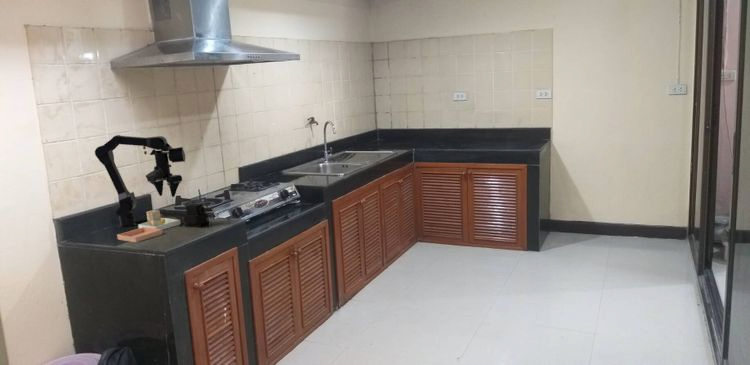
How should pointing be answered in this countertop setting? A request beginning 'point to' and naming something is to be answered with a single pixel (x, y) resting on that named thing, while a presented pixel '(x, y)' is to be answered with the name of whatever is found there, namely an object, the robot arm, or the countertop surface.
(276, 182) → the countertop surface
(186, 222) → the toy
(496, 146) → the countertop surface
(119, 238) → the terracotta dish
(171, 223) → the grey tub
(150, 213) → the birch block
